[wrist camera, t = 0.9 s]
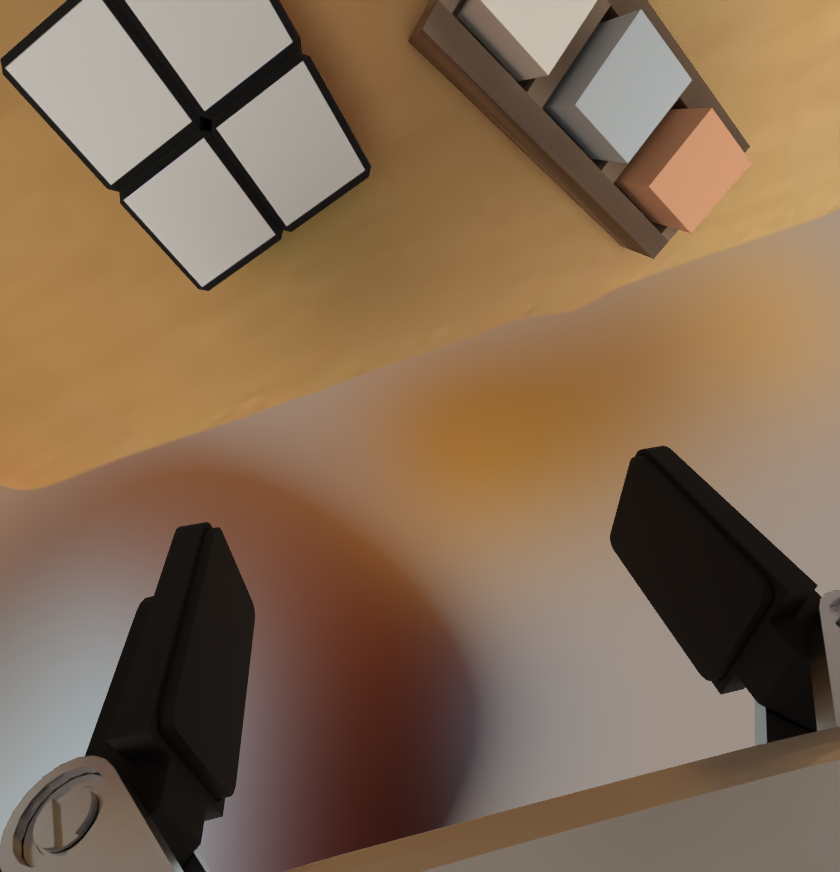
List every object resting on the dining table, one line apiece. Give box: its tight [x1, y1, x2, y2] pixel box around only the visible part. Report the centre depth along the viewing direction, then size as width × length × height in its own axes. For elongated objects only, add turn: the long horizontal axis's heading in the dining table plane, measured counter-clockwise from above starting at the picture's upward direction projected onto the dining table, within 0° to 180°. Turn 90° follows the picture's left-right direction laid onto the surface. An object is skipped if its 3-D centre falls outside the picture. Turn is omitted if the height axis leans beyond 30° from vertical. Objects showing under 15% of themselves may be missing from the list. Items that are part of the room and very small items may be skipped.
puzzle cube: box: [1, 0, 371, 291], centre depth 23 cm, size 10×10×10 cm
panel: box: [409, 0, 750, 259], centre depth 27 cm, size 8×20×4 cm, turn 54°
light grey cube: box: [543, 9, 692, 163], centre depth 25 cm, size 4×4×4 cm
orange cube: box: [615, 108, 752, 233], centre depth 28 cm, size 4×4×4 cm
